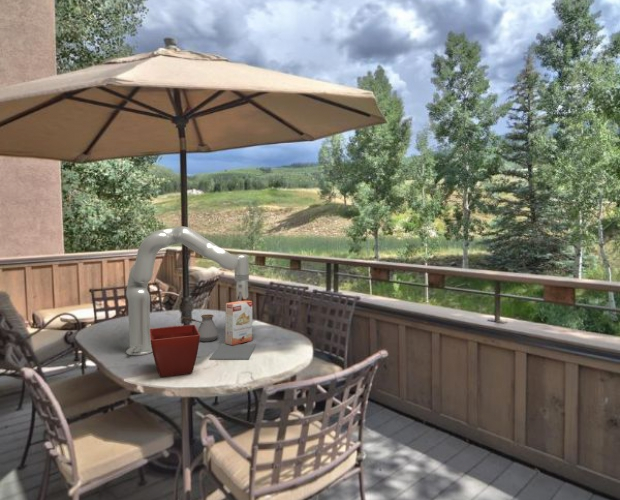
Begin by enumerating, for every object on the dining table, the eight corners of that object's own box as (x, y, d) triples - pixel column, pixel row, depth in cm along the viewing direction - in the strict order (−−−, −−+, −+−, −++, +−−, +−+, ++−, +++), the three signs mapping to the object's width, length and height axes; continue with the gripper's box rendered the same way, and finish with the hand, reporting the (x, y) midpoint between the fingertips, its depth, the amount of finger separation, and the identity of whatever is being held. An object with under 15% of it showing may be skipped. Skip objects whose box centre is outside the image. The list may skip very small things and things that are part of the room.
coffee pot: (210, 335, 240) (210, 308, 238) (223, 339, 232) (222, 311, 230) (175, 343, 224) (174, 314, 223) (187, 348, 216) (186, 318, 215)
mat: (248, 359, 199) (248, 358, 199) (209, 359, 200) (209, 358, 200) (255, 345, 221) (255, 344, 221) (220, 345, 222) (220, 344, 222)
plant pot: (150, 366, 192) (149, 328, 190) (195, 360, 198) (194, 324, 197) (151, 381, 174) (150, 339, 172) (201, 375, 181) (200, 335, 179)
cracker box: (233, 346, 218) (232, 304, 217) (224, 344, 222) (224, 303, 221) (253, 340, 229) (253, 300, 228) (244, 338, 233) (244, 299, 232)
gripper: (246, 279, 225) (246, 315, 227) (250, 275, 240) (251, 308, 242) (231, 279, 225) (232, 314, 227) (237, 275, 240) (237, 308, 242)
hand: (242, 311), depth 234 cm, fingers closed
